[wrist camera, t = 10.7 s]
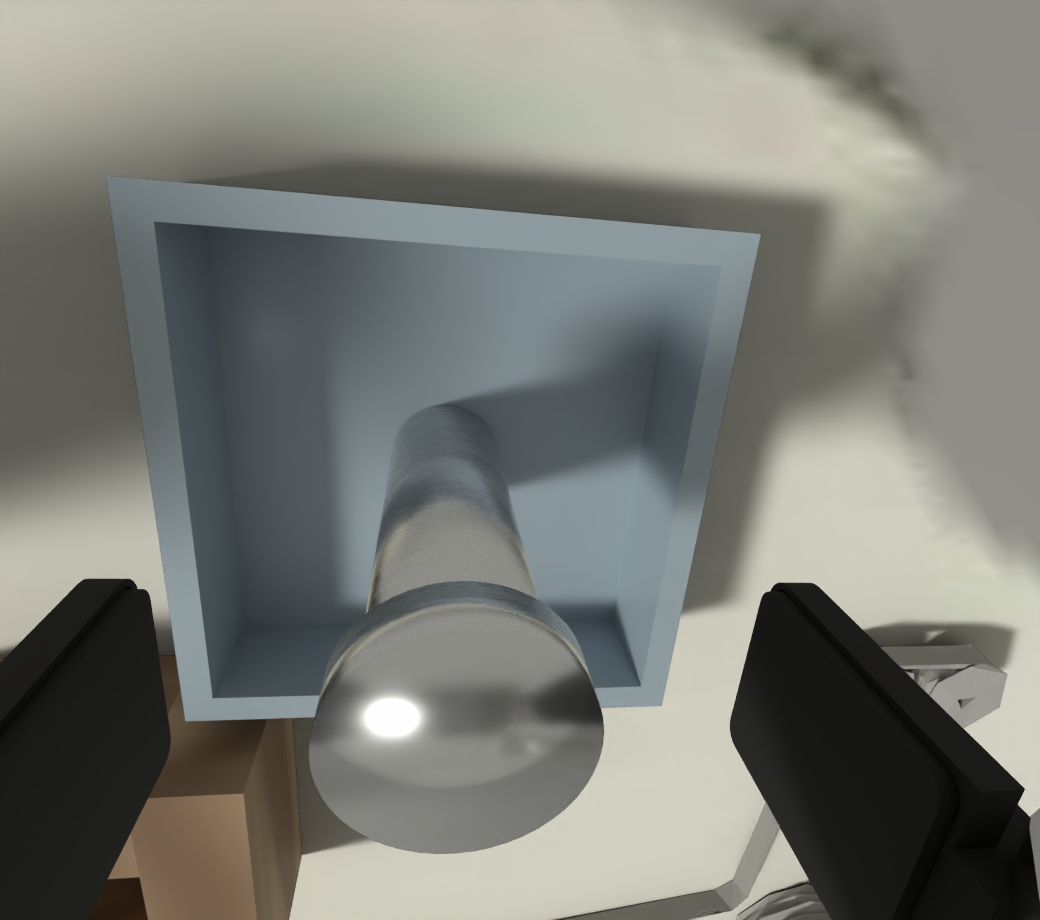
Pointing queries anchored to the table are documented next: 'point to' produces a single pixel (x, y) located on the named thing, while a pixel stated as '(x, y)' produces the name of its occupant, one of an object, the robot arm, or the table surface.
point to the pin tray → (401, 393)
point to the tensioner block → (212, 824)
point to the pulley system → (798, 911)
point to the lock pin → (453, 664)
